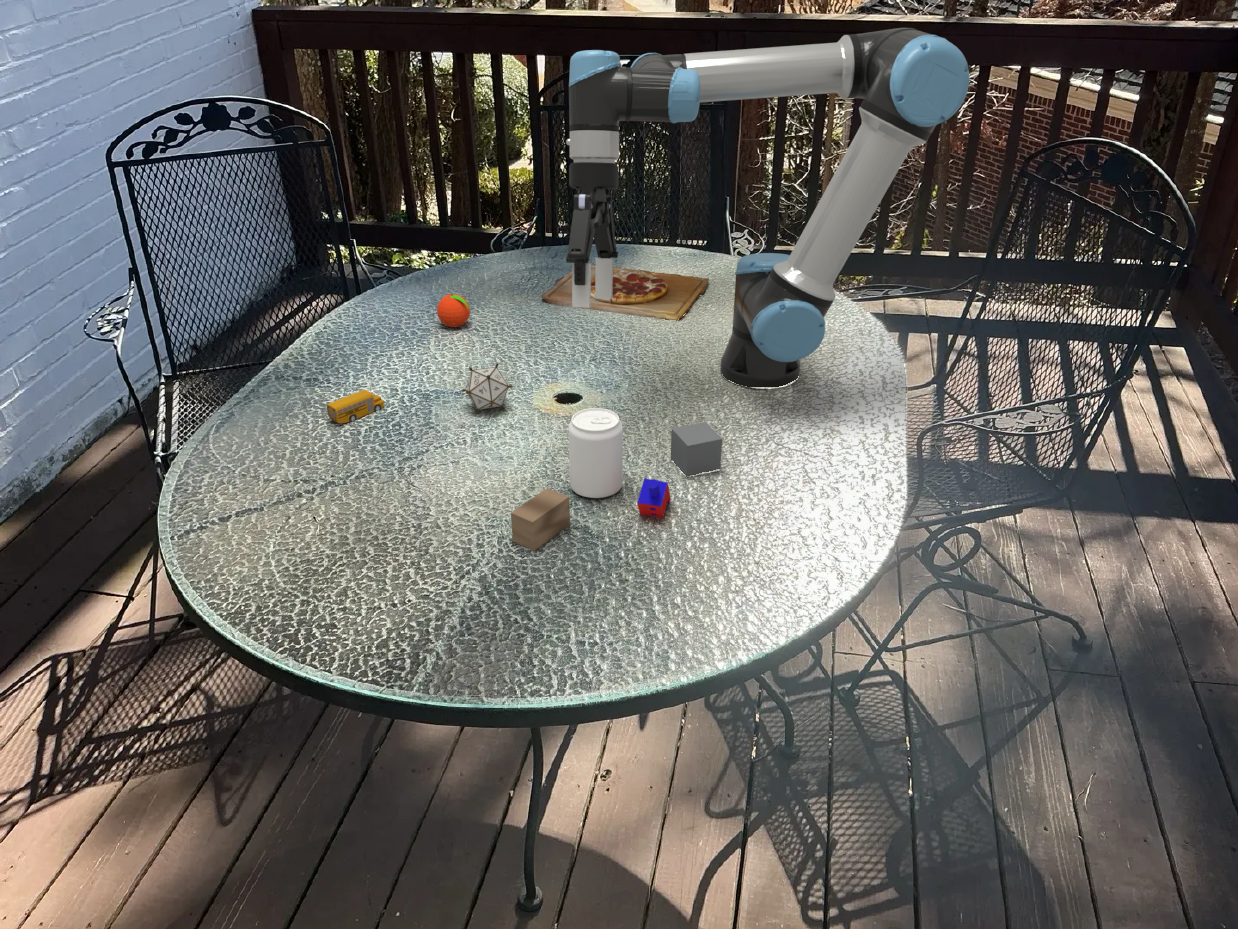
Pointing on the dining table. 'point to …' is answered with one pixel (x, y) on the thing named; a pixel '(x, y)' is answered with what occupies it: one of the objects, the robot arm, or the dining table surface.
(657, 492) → the toy building block
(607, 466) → the beverage can
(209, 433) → the dining table surface
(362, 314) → the dining table surface
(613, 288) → the pizza
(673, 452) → the grey cube
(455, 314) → the clementine
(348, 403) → the toy bus
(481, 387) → the game die
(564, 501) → the walnut brick
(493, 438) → the dining table surface
